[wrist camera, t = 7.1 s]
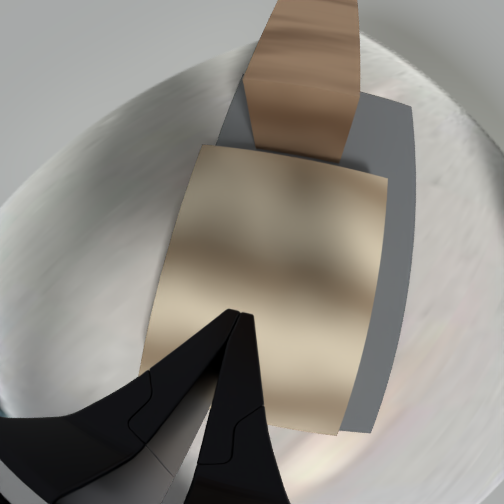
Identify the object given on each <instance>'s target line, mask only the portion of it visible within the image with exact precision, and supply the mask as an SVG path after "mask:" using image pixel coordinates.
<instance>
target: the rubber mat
mask: <svg viewBox="0 0 504 504" xmlns="http://www.w3.org/2000/svg"><path fill="white" fill-rule="evenodd" d="M244 75H245V74H243V76H242V78H241V80H240V83H239V85H238V88H237V90H236V93H235V95H234V98H233V100H232V103H231V105H230V108H229V111H228V113H227V116H226V118H225V121H224V124H223V126H222V129H221V132H220V135H219V137H218V140H217V143H216V146H222V147H230V148H238V149H246V150H253V151H260V152H266V153H273V154H279V155H285V156H290V157H296V158H301V159H306V160H312V161H317V162H321V163H326V164H331V165H335V166H340V167H344V168H348V169H353V170H357V171H361V172H365V173H369V174H373V175H377V176H380V177H384V178H388V186H387V202H386V215H385V226H384V235H383V244H382V252H381V260H380V267H379V273H378V280H377V286H376V292H375V297H374V303H373V308H372V313H371V318H370V323H369V327H368V332H367V336H366V340H365V345H364V349H363V353H362V357H361V361H360V364H359V368H358V372H357V375H356V379H355V382H354V386H353V389H352V392H351V396H350V399H349V402H348V405H347V408H346V411H345V414H344V417H343V420H342V423H341V426H340V429H339V430H340V431H350V432H362V433H371V431H372V428H373V426H374V423H375V420H376V417H377V415H378V412H379V409H380V406H381V403H382V400H383V396H384V393H385V390H386V387H387V383H388V380H389V376H390V373H391V369H392V365H393V361H394V357H395V353H396V349H397V345H398V341H399V336H400V331H401V327H402V322H403V316H404V311H405V305H406V299H407V293H408V286H409V279H410V271H411V263H412V253H413V242H414V228H415V206H416V164H415V142H414V129H413V118H412V108H411V106H408V105H405V104H402V103H399V102H395V101H392V100H389V99H385V98H382V97H378V96H375V95H371V94H367V93H363V92H360V98H359V102H358V105H357V109H356V112H355V115H354V119H353V122H352V125H351V128H350V131H349V135H348V138H347V141H346V144H345V147H344V150H343V153H342V156H341V159H340V162H339V164H338V163H333V162H329V161H324V160H319V159H314V158H309V157H304V156H299V155H293V154H288V153H282V152H276V151H269V150H263V149H256V147H255V142H254V136H253V131H252V126H251V120H250V115H249V110H248V105H247V99H246V94H245V89H244V84H243V77H244Z"/></svg>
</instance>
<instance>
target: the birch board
mask: <svg viewBox="0 0 504 504" xmlns="http://www.w3.org/2000/svg"><path fill="white" fill-rule="evenodd" d="M387 186H388V178H384V177H380V176H377V175H373V174H369V173H365V172H361V171H357V170H353V169H348V168H344V167H340V166H335V165H331V164H326V163H321V162H317V161H312V160H306V159H301V158H296V157H290V156H285V155H279V154H273V153H266V152H260V151H253V150H246V149H238V148H230V147H222V146H212V145H202V147H201V150H200V152H199V155H198V158H197V161H196V163H195V166H194V169H193V172H192V175H191V178H190V180H189V183H188V186H187V189H186V192H185V195H184V198H183V201H182V204H181V208H180V211H179V214H178V217H177V220H176V223H175V227H174V230H173V233H172V237H171V240H170V244H169V247H168V251H167V254H166V258H165V261H164V265H163V269H162V272H161V276H160V280H159V284H158V288H157V292H156V296H155V300H154V304H153V308H152V312H151V317H150V321H149V326H148V330H147V335H146V340H145V344H144V349H143V354H142V359H141V365H140V370H139V376H140V375H141V374H143V373H144V372H145V371H146V370H149V369H150V368H151V367H152V366H153V365H155V364H156V363H157V362H159V361H160V360H161V359H163V358H164V357H165V356H167V355H168V354H169V353H171V352H172V351H173V350H175V349H176V348H177V347H179V346H180V345H181V344H183V343H184V342H185V341H186V340H188V339H189V338H190V337H192V336H193V335H194V334H196V333H197V332H198V331H199V330H201V329H202V328H203V327H205V326H206V325H207V324H208V323H210V322H211V321H212V320H214V319H215V318H216V317H217V316H219V315H220V314H221V313H222V312H224V311H225V310H226V309H234V310H238V311H240V313H241V312H246V313H250V314H253V315H254V320H255V328H256V337H257V345H258V354H259V362H260V371H261V379H262V388H263V396H264V406H265V412H266V420H267V424H268V425H272V426H277V427H282V428H287V429H293V430H299V431H305V432H311V433H318V434H325V435H334V436H337V434H338V431H339V429H340V426H341V423H342V420H343V417H344V414H345V411H346V408H347V405H348V402H349V399H350V396H351V392H352V389H353V386H354V382H355V379H356V375H357V372H358V368H359V364H360V361H361V357H362V353H363V349H364V345H365V340H366V336H367V332H368V327H369V323H370V318H371V313H372V308H373V303H374V297H375V292H376V286H377V280H378V273H379V267H380V260H381V252H382V244H383V235H384V226H385V215H386V202H387ZM149 371H150V370H149ZM210 408H211V406H210ZM210 408H209V409H210Z"/></svg>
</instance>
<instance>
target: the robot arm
mask: <svg viewBox="0 0 504 504" xmlns="http://www.w3.org/2000/svg"><path fill="white" fill-rule="evenodd" d="M149 370H150V371H149ZM149 370H146V371H145V372H144V373H143V374H141V375H140V376H138V377H137V378H136V379H134V380H133V381H131V382H130V383H128V384H127V385H125V386H124V387H122V388H120V389H119V390H117V391H115V392H113V393H112V394H110V395H108V396H106V397H104V398H103V399H101V400H99V401H97V402H95V403H93V404H91V405H89V406H88V407H86V408H84V409H82V410H80V411H78V412H75V413H73V414H70V415H66V416H60V417H43V418H6V417H1V416H0V504H161V502H162V500H163V499H164V497H165V495H166V493H167V491H168V489H169V487H170V485H171V483H172V482H173V480H174V477H175V476H176V474H177V472H178V470H179V468H180V466H181V464H182V462H183V460H184V458H185V456H186V454H187V452H188V450H189V448H190V446H191V444H192V442H193V440H194V438H195V436H196V434H197V432H198V430H199V428H200V426H201V424H202V422H203V420H204V418H205V416H206V414H207V412H208V410H209V408H210V406H211V408H210V412H209V416H208V420H207V424H206V428H205V432H204V437H203V441H202V445H201V449H200V453H199V457H198V461H197V466H196V469H195V473H194V476H193V480H192V483H191V486H190V488H189V491H188V494H187V496H186V499H185V501H184V504H290V501H289V499H288V497H287V494H286V491H285V488H284V486H283V482H282V479H281V476H280V472H279V469H278V466H277V462H276V459H275V456H274V452H273V449H272V445H271V441H270V436H269V432H268V426H267V420H266V412H265V406H264V396H263V388H262V379H261V371H260V362H259V354H258V345H257V337H256V328H255V320H254V315H253V314H250V313H246V312H241V313H240V311H238V310H234V309H226V310H225V311H224V312H222V313H221V314H220V315H219V316H217V317H216V318H215V319H214V320H212V321H211V322H210V323H208V324H207V325H206V326H205V327H203V328H202V329H201V330H199V331H198V332H197V333H196V334H194V335H193V336H192V337H190V338H189V339H188V340H186V341H185V342H184V343H183V344H181V345H180V346H179V347H177V348H176V349H175V350H173V351H172V352H171V353H169V354H168V355H167V356H165V357H164V358H163V359H161V360H160V361H159V362H157V363H156V364H155V365H153V366H152V367H151V368H150V369H149Z"/></svg>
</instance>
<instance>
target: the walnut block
mask: <svg viewBox="0 0 504 504" xmlns="http://www.w3.org/2000/svg"><path fill="white" fill-rule="evenodd" d="M243 84H244V89H245V94H246V99H247V105H248V110H249V115H250V120H251V126H252V131H253V136H254V142H255V147H256V149H263V150H269V151H276V152H282V153H288V154H293V155H299V156H304V157H309V158H314V159H319V160H324V161H329V162H333V163H338V164H339V162H340V159H341V156H342V153H343V150H344V147H345V144H346V141H347V138H348V135H349V131H350V128H351V125H352V122H353V119H354V115H355V112H356V109H357V105H358V102H359V98H360V36H359V17H358V3H357V0H278V1H277V4H276V6H275V8H274V10H273V12H272V14H271V16H270V18H269V20H268V22H267V24H266V27H265V29H264V31H263V33H262V35H261V38H260V40H259V42H258V44H257V47H256V49H255V51H254V53H253V56H252V58H251V60H250V63H249V65H248V68H247V70H246V72H245V75H244V77H243Z"/></svg>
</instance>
